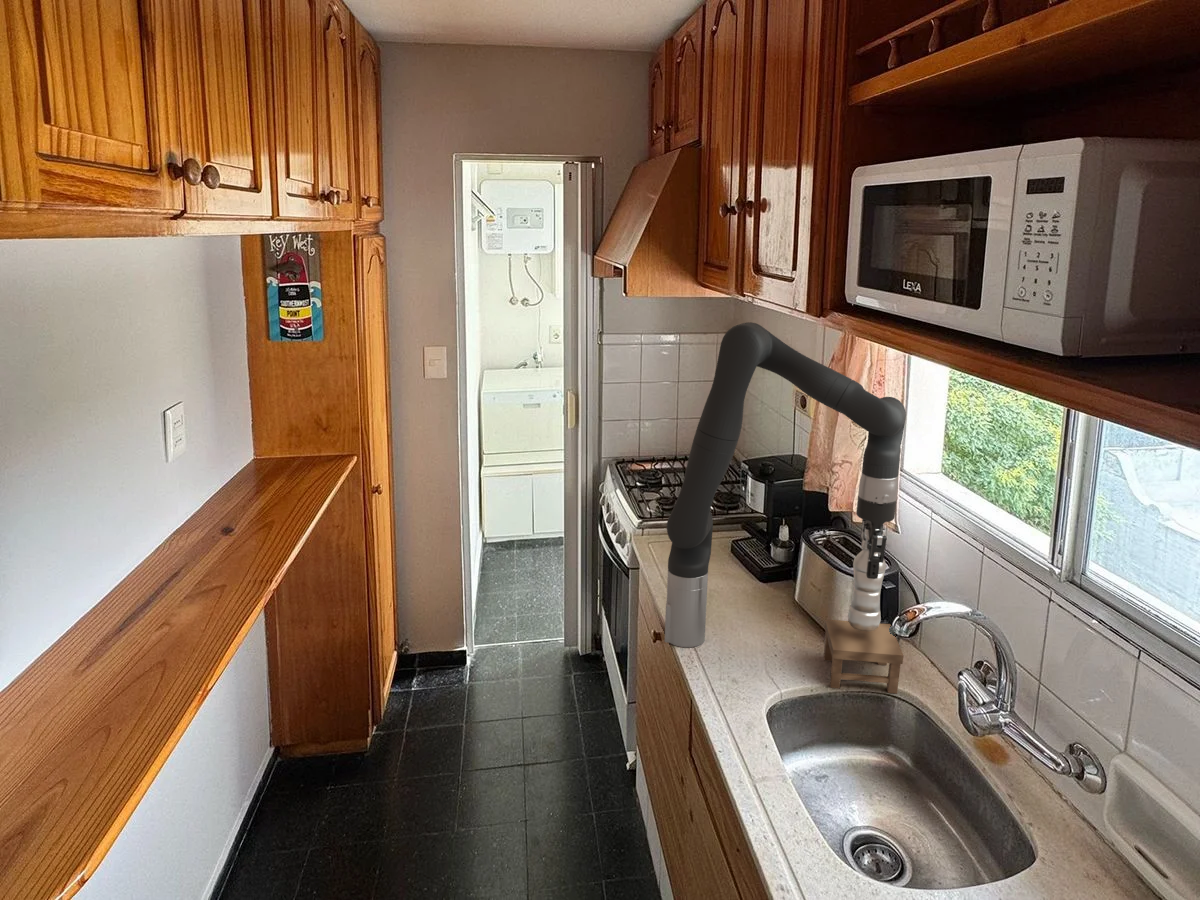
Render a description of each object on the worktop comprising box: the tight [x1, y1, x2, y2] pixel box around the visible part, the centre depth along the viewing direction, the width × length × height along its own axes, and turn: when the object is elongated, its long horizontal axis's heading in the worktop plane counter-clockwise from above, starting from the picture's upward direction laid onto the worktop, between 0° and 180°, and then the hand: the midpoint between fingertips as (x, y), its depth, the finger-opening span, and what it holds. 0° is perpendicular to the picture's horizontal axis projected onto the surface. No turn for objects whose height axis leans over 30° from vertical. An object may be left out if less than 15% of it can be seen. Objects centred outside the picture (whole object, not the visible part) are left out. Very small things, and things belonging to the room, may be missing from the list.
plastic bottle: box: [847, 538, 887, 631], centre depth 174 cm, size 6×7×20 cm
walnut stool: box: [823, 618, 904, 694], centre depth 178 cm, size 14×14×9 cm
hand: (869, 571), depth 173 cm, fingers closed on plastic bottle, 6 cm apart
